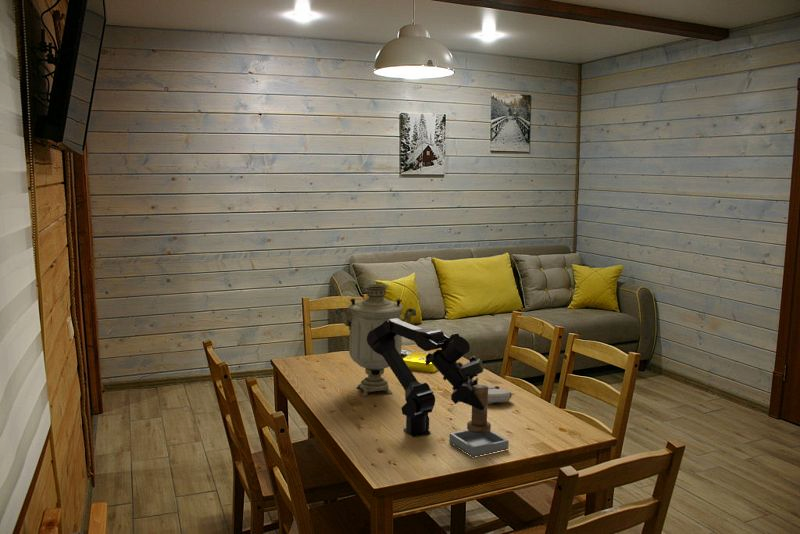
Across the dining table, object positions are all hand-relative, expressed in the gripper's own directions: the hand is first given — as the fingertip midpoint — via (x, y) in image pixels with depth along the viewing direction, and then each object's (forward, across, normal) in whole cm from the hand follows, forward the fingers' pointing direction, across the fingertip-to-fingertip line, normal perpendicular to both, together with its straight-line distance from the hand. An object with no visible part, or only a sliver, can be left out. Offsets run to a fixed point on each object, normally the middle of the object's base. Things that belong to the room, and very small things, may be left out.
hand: (484, 406), depth 198 cm
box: (+8, 0, +10) cm, 13 cm away
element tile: (-15, +79, +34) cm, 87 cm away
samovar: (-23, +45, +42) cm, 65 cm away
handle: (+4, 0, +6) cm, 7 cm away
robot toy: (+8, +44, +10) cm, 46 cm away
